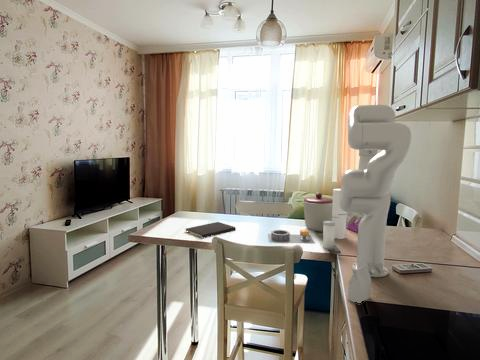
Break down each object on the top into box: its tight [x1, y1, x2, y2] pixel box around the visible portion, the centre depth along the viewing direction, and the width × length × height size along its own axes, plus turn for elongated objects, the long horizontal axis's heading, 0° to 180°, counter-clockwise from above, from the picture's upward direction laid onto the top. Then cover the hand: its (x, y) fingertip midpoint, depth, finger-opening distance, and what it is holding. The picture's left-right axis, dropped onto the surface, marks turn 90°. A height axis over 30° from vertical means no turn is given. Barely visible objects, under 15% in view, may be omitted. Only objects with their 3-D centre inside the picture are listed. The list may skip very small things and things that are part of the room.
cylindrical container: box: [331, 188, 347, 240], centre depth 158 cm, size 7×7×25 cm
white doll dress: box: [347, 265, 372, 304], centre depth 94 cm, size 4×7×10 cm, turn 130°
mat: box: [327, 244, 342, 254], centre depth 140 cm, size 9×9×1 cm
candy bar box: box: [346, 212, 366, 234], centre depth 171 cm, size 11×5×16 cm, turn 22°
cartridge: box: [322, 220, 335, 250], centre depth 139 cm, size 5×5×12 cm
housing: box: [267, 229, 316, 244], centre depth 152 cm, size 14×22×4 cm, turn 87°
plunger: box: [299, 229, 310, 240], centre depth 152 cm, size 4×4×4 cm
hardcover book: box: [185, 221, 237, 238], centre depth 169 cm, size 16×23×2 cm
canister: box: [302, 192, 333, 232], centre depth 172 cm, size 18×18×21 cm
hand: (366, 191), depth 137 cm, fingers open, 9 cm apart
